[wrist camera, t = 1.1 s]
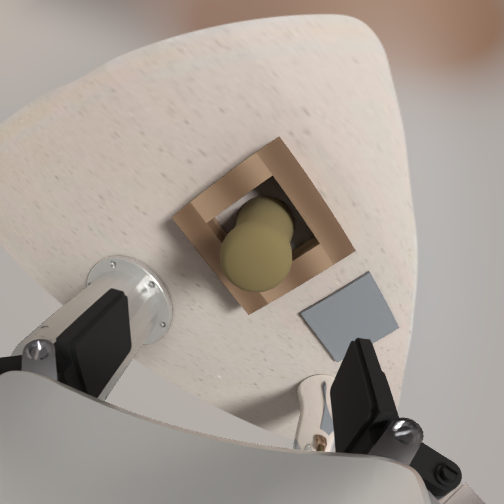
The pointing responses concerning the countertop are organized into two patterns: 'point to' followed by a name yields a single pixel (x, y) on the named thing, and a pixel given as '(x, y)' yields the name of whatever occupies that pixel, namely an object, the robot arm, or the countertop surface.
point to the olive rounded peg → (259, 245)
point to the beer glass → (315, 415)
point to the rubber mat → (351, 316)
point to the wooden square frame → (303, 198)
